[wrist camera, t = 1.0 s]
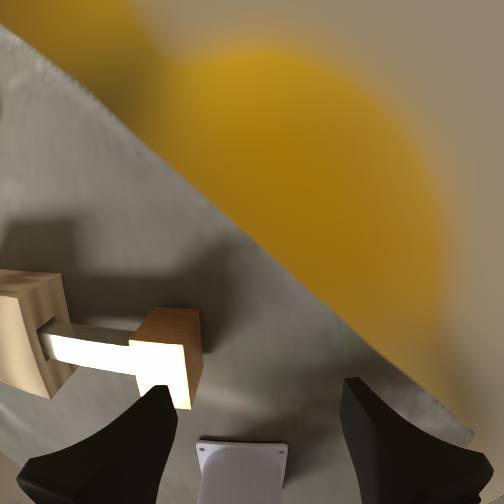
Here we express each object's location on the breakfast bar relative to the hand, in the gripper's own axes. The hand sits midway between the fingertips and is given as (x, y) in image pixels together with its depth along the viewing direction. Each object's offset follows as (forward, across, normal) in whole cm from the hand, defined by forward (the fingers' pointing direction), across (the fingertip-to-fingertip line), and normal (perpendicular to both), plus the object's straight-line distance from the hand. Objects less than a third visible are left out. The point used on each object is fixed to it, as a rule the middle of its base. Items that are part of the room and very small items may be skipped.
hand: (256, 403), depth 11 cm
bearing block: (+9, +19, 0) cm, 21 cm away
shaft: (+8, +12, +1) cm, 14 cm away
